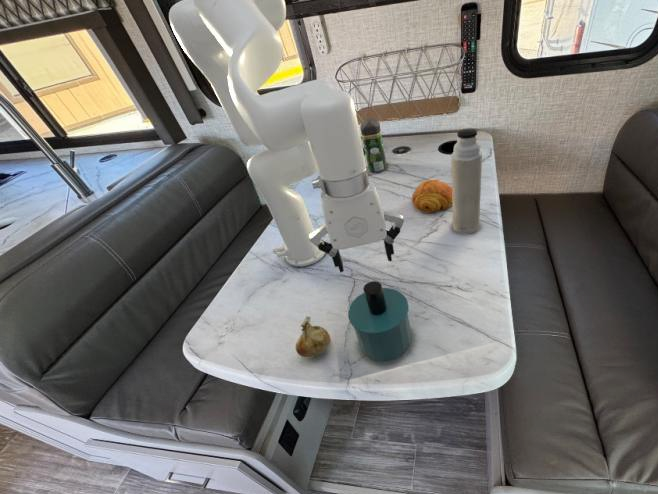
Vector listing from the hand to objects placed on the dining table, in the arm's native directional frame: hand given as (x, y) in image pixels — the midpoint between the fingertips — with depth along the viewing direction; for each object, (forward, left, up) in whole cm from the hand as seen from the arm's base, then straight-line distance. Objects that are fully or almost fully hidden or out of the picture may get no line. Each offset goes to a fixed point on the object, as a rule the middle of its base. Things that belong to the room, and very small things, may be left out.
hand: (365, 262), depth 66 cm
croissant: (+27, +49, -19) cm, 59 cm away
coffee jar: (+13, +87, -19) cm, 90 cm away
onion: (-16, -3, -19) cm, 25 cm away
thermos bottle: (+32, +31, -19) cm, 49 cm away
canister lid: (0, -5, -9) cm, 10 cm away
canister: (0, -5, -19) cm, 20 cm away
